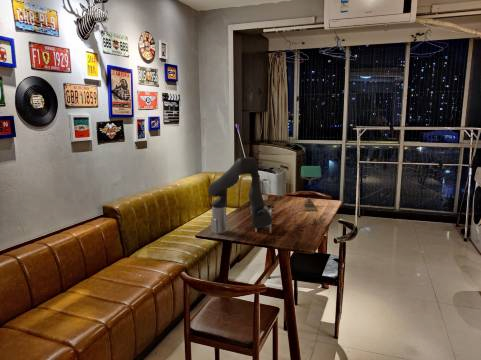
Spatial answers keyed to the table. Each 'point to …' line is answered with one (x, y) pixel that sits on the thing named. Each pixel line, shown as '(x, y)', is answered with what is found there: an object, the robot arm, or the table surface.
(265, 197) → the maple block
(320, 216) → the table surface
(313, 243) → the table surface
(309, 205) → the banker's lamp
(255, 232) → the tunnel
